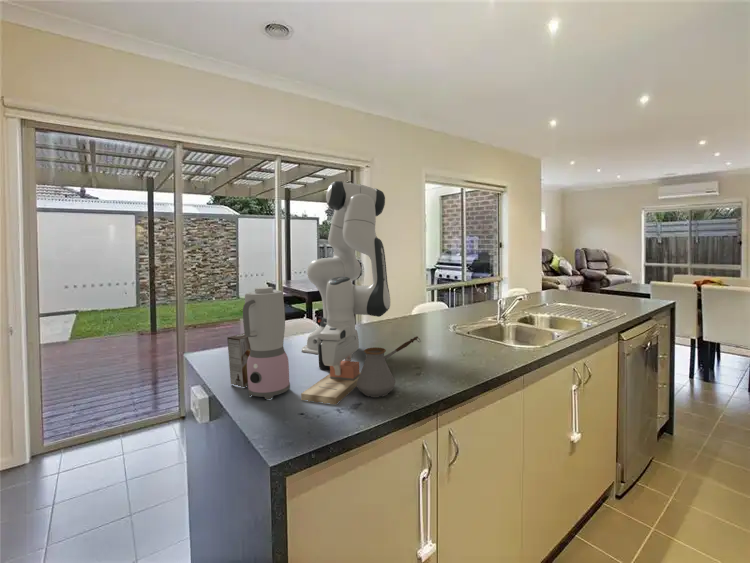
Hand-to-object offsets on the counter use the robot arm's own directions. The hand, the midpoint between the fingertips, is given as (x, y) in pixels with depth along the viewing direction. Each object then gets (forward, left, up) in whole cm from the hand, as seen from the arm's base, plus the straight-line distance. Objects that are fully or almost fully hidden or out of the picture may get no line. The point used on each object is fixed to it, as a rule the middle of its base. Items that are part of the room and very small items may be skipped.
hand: (342, 371), depth 126 cm
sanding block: (+1, 0, -2) cm, 2 cm away
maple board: (0, -5, -4) cm, 7 cm away
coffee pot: (+16, -1, -4) cm, 17 cm away
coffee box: (-30, -8, -4) cm, 32 cm away
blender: (-18, -15, -4) cm, 24 cm away
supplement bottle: (-12, +14, -4) cm, 19 cm away
